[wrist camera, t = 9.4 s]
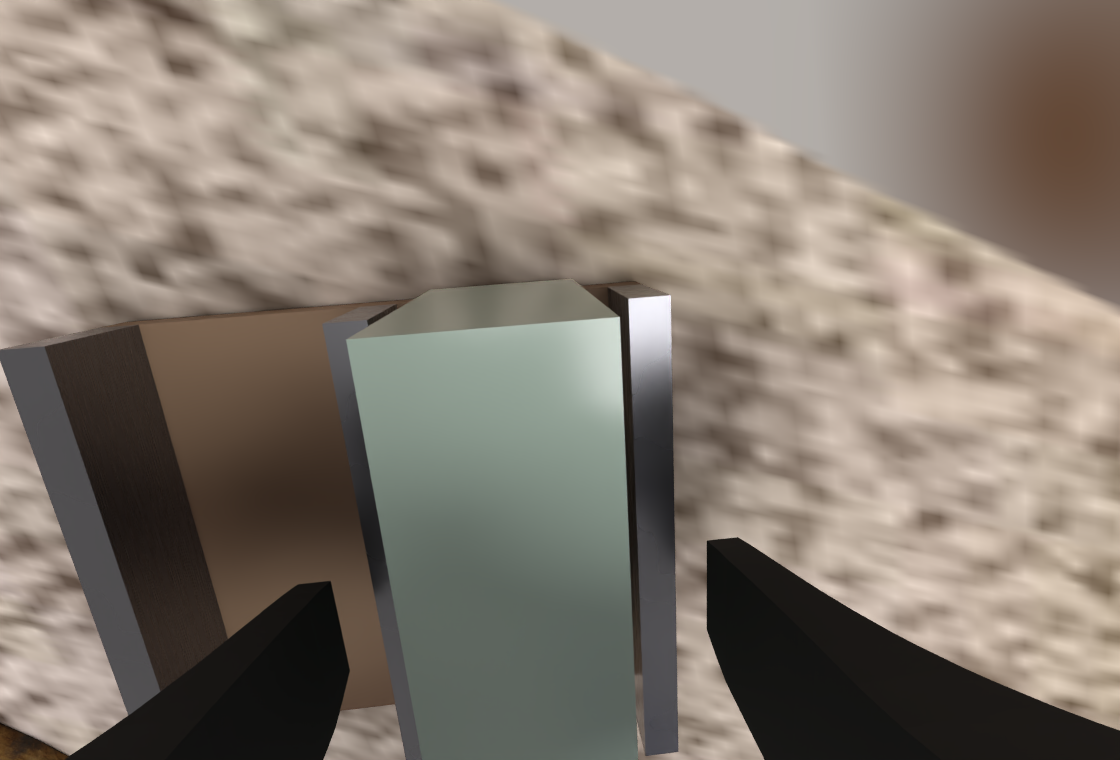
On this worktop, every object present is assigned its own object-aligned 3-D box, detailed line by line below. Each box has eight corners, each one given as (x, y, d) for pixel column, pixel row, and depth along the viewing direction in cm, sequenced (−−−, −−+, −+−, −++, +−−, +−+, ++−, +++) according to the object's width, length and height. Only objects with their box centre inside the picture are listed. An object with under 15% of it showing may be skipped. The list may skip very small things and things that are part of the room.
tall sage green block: (571, 278, 12) (619, 316, 6) (594, 643, 15) (644, 905, 9) (430, 289, 12) (346, 339, 6) (479, 656, 15) (452, 933, 9)
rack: (647, 652, 16) (678, 751, 13) (236, 700, 15) (165, 816, 12) (634, 281, 13) (670, 295, 10) (126, 322, 12) (-4, 350, 9)
